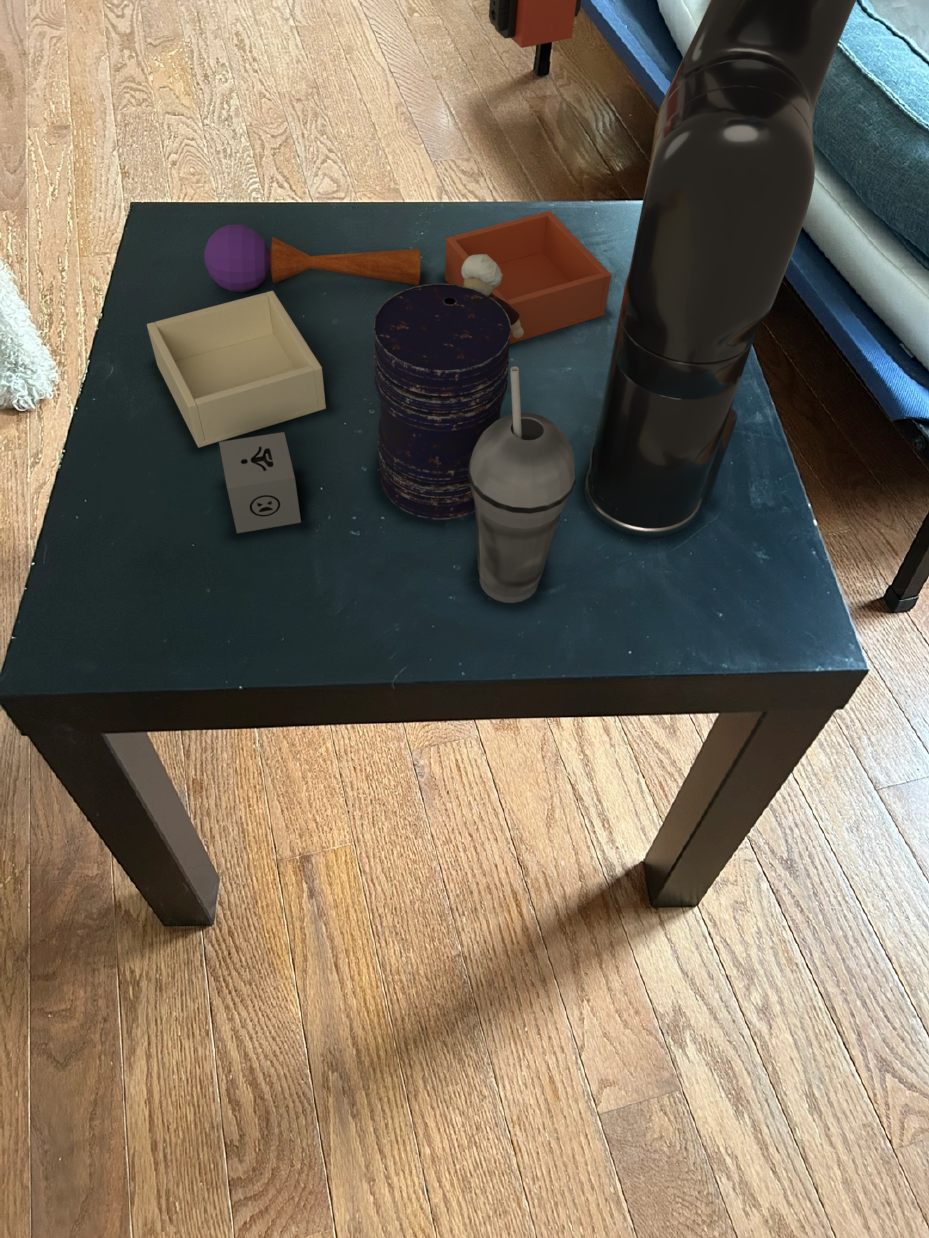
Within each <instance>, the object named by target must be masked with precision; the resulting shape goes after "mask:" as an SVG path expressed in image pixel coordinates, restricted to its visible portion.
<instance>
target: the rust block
mask: <svg viewBox="0 0 929 1238" xmlns="http://www.w3.org/2000/svg"><path fill="white" fill-rule="evenodd" d="M575 8H576V0H518V9H517V21H516V33H515V36H514V37H512V38H510V39H511V40H512V41H513V43H515V44H516V45H517V46H518V47H519V48H521V49H523V48H529V47H534V46H539V45H545V44H549V43H553V42H560V41H564V40H568V39H569V40H570V39H572V38H573V32H574V24H575V17H574V16H575Z"/></svg>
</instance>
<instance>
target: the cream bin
mask: <svg viewBox="0 0 929 1238" xmlns="http://www.w3.org/2000/svg"><path fill="white" fill-rule="evenodd" d="M146 327H147V332H148V335H149V339H150V342H151V346H152V350H153V355H154V357H155V358H154V359H155V362H156V365H157V368H158V370H159V372H160V374H161V376H162V377H163V380H164V382H165V384H166V385H167V388H168V390H169V392H170V394H171V396H172V398H173V400H174V402H175V404H176V406H177V408H178V410H179V412H180V414H181V416H182V418H183V420H184V422H185V424H186V426H187V428H188V430H189V432H190V435H191V436H192V438H193V440H194V442H195V444H196V446H197V448H203V447H206V446H209V445H212V444H215V443H219V442H223V441H226V440H228V439H232V438H235V437H238V436H241V435H244V434H248V433H251V432H254V431H258V430H261V429H264V428H267V427H271V426H274V425H277V424H280V423H283V422H286V421H287V422H288V421H290V420H293V419H296V418H300V417H303V416H307V415H309V414H313V413H316V412H319V411H323V410H326V409H327V404H326V395H325V385H324V375H323V374H324V373H323V367H322V366H321V364H320V362H319V360H318V359H317V357H316V356H315V355H314V352H313V351H312V350H311V348H310V346H309V345H308V343H307V342H306V340H305V339H304V337H303V335H302V333H301V332H300V331H299V329H298V328H297V326H296V325H295V323H294V321H293V320H292V318H291V316H290V315H289V313H288V312H287V310H286V309H285V307H284V306H283V304H282V303H281V301H280V299H279V298H278V296H277V294H276V293H275V291H274V290H269V291H266V292H263V293H259V294H254V295H251V296H247V297H244V298H239V299H235V300H232V301H228V302H224V303H220V304H217V305H213V306H210V307H205V308H202V309H198V310H195V311H190V312H188V313H187V312H186V313H183V314H179V315H175V316H172V317H167V318H164V319H160V320H156V321H153V322H149V323H146Z"/></svg>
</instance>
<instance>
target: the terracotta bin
mask: <svg viewBox="0 0 929 1238" xmlns="http://www.w3.org/2000/svg"><path fill="white" fill-rule="evenodd" d="M478 254H486V255H488V256H489V257H490V258H491V259H492V260H493V261H495V262H496V263H497V265H498V267H499V268H500V270H501V273H502V275H503V276H502V280H501V283H500V284H499V285H498V286H497V287H496V288H494V290H493V292H492V294H494V295H495V296H496V297H498V298H500V299H502V300H503V301H505V302H507V303H508V304H509V305H510V306H511V307H512V308H513V309H514V310H515V311H516V312H518V314H519V315H520V317H519V321H520V323H521V327H522V329H523V331H524V334H523V336H522V337H521V338H518V339H517V338H514V337H513V335H512V333H511V335H510V344H509V345H513V344H516V343H519V342H521V341H525V340H528V339H532V338H534V337H535V338H536V337H539V336H542V335H544V334H549V333H551V332H555V331H558V330H561V329H565V328H567V327H571V326H574V325H579V324H581V323H584V322H587V321H591V320H594V319H598V318H600V317H604V316H605V314H606V308H607V303H608V297H609V292H610V286H611V282H612V281H611V280H612V277H613V276H612V275H613V274H612V273H611V272H610V271H609V270H608V269H607V268H606V267H605V266H604V265H603V264H602V263H601V262H600V261H599V260H598V259H597V257H595V255H593V253H592V252H590V251H589V249H587V247H586V246H585V245H584V244H583V243H582V242H581V241H580V240H579V239H578V238H577V237H576V236H575V235H574V233H573V232H571V231H570V230H569V228H568V227H567V226H566V225H565V224H564V223H563V222H562V221H561V220H560V219H559V218H558V217H557V216H556V215H555V214H554V213H553V212H552V211H551V210H547V211H543V212H539V213H536V214H535V213H534V214H531V215H527V216H524V217H520V218H516V219H513V220H509V221H505V222H501V223H497V224H494V225H490V226H486V227H482V228H478V229H473V230H471V231H467V232H462V233H460V234H455V235H451V236H448V237H446V238H445V262H444V263H445V265H444V279H445V281H446V282H447V284H453V285H459V286H464V278H463V276H462V266H463V263H464V262H465V260H466V259H467V258H468V257H469V256H471V255H478Z"/></svg>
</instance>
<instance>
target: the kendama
mask: <svg viewBox="0 0 929 1238" xmlns="http://www.w3.org/2000/svg"><path fill="white" fill-rule="evenodd" d="M203 255H204V256H203V258H204V265H205V267H206V270H207V272H208V274H209V276H210V278H211V279H212V280H213V281H214V282H215V283H216V284H217V285H218V286H219V287H220V288H223V289H225V290H227V291H229V292H231V293H243V294H244V293H248V292H250V291H252V290H255V289H258V288H259V287H260V286H261V285H262V284H263V282H265V281H266V279H267V277H268V274H269V272H270V273H271V279H272V284H273V285H275V284H278V283H280V282H282V281H285V280H286V279H289V278H292V277H295V276H297V275H298V274H301V273H303V272H305V271H308V270H310V269H312V270H319V271H323V272H324V271H326V272H330V273H331V272H332V273H337V274H342V275H349V276H356V277H362V278H367V279H374V280H381V281H387V282H391V283H399V284H406V285H411V286H420V280H421V250H420V248H411V249H397V250H396V249H395V250H382V251H380V250H379V251H367V252H351V253H350V252H349V253H339V254H338V253H337V254H323V255H322V254H321V255H309V254H307V253H306V252H304V251H301V250H300V249H298V248H296V247H294V246H292V245H290V244H288V243H286V242H284V241H282V240H280V239H278V238H277V237H275V236H272V237H271V244H270V250H269V248H268V245H267V243H266V240H265V239H264V238H263V237H262V236H261V235H260V234H259V233H258V232H257V231H256V230H255V229H253V228H251V227H248V226H247V225H244V224H232V223H231V224H227V225H225V226H222V227H220V228H218V229H216V230H215V231H214V232H213V233H212V234H211V236H210V237H209V238H208V240H207V242H206V245H205V248H204V254H203Z"/></svg>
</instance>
